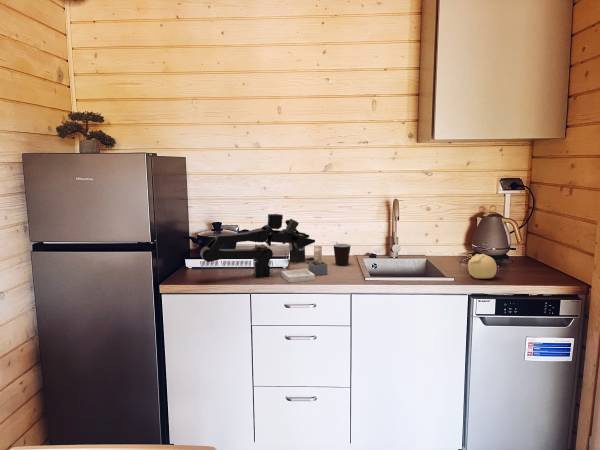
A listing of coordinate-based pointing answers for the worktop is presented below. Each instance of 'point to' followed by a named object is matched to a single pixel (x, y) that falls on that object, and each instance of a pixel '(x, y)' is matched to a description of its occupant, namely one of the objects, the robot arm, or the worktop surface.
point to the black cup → (341, 254)
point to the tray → (297, 275)
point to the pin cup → (318, 268)
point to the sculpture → (482, 266)
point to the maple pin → (317, 255)
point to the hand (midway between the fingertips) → (312, 238)
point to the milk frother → (298, 254)
